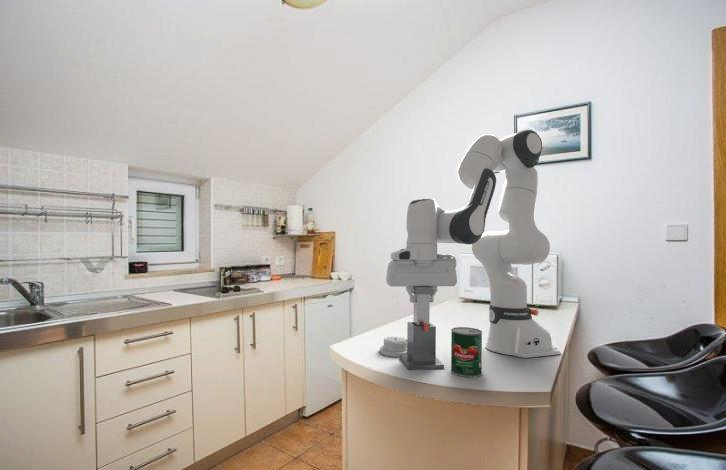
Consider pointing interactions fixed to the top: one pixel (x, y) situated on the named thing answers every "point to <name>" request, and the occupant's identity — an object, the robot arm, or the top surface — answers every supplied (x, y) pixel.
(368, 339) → the top surface
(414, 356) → the grey hollow housing
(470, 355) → the canned tomato
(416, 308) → the column
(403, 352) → the mechanical component
